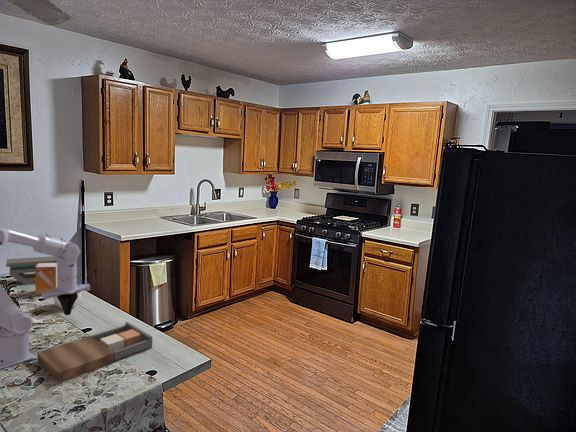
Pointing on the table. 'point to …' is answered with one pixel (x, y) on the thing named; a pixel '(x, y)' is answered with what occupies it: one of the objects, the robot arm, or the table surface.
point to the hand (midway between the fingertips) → (67, 314)
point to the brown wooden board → (74, 358)
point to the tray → (128, 350)
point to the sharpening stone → (27, 267)
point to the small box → (45, 277)
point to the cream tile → (113, 342)
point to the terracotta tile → (131, 337)
